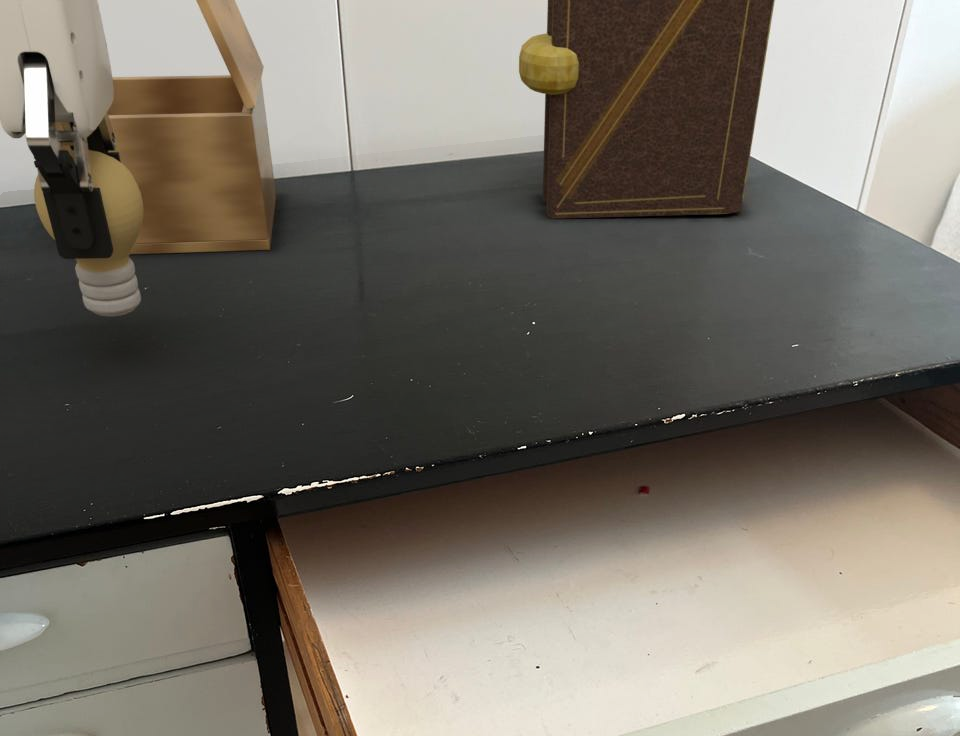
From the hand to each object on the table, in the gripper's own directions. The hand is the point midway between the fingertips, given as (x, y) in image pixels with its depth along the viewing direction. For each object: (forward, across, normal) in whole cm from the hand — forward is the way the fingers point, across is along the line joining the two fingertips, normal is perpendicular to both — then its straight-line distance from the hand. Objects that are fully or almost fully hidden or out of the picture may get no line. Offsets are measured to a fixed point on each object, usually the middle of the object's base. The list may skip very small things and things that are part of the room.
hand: (97, 233), depth 62 cm
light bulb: (+5, 0, 0) cm, 5 cm away
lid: (-10, -30, +5) cm, 32 cm away
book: (+9, -31, +44) cm, 54 cm away
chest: (+9, -30, +1) cm, 31 cm away
